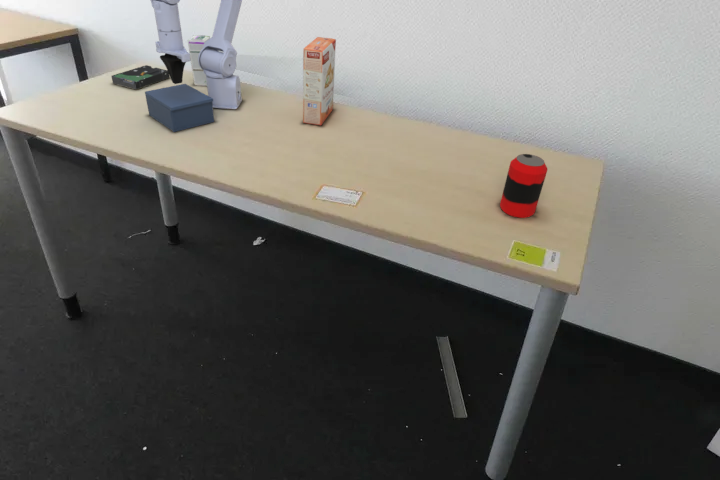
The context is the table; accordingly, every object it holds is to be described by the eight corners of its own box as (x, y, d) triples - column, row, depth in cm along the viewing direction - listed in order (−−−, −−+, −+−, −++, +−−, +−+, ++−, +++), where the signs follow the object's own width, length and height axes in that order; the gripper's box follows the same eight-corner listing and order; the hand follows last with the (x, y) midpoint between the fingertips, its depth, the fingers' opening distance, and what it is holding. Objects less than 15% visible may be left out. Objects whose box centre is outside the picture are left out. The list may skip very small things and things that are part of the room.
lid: (213, 101, 139) (213, 98, 138) (171, 110, 131) (171, 107, 131) (185, 86, 147) (185, 83, 147) (145, 94, 140) (144, 91, 140)
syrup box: (211, 86, 166) (206, 40, 158) (193, 85, 166) (187, 39, 158) (215, 80, 171) (211, 35, 163) (198, 79, 171) (192, 34, 163)
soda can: (528, 201, 115) (542, 152, 109) (539, 219, 109) (554, 169, 102) (495, 200, 115) (507, 151, 108) (504, 218, 109) (517, 167, 102)
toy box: (214, 121, 143) (212, 101, 139) (173, 132, 135) (170, 110, 132) (188, 106, 151) (185, 86, 147) (149, 115, 144) (145, 94, 140)
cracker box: (322, 126, 144) (323, 50, 132) (302, 123, 145) (301, 47, 133) (334, 109, 155) (336, 38, 143) (315, 107, 156) (316, 35, 144)
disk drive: (147, 73, 174) (112, 84, 163) (145, 64, 173) (110, 75, 161) (170, 78, 171) (136, 90, 159) (169, 70, 169) (134, 81, 158)
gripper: (141, 25, 131) (150, 78, 139) (168, 37, 123) (176, 93, 130) (166, 22, 135) (174, 73, 143) (194, 34, 127) (201, 87, 134)
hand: (177, 82), depth 137 cm, fingers closed
